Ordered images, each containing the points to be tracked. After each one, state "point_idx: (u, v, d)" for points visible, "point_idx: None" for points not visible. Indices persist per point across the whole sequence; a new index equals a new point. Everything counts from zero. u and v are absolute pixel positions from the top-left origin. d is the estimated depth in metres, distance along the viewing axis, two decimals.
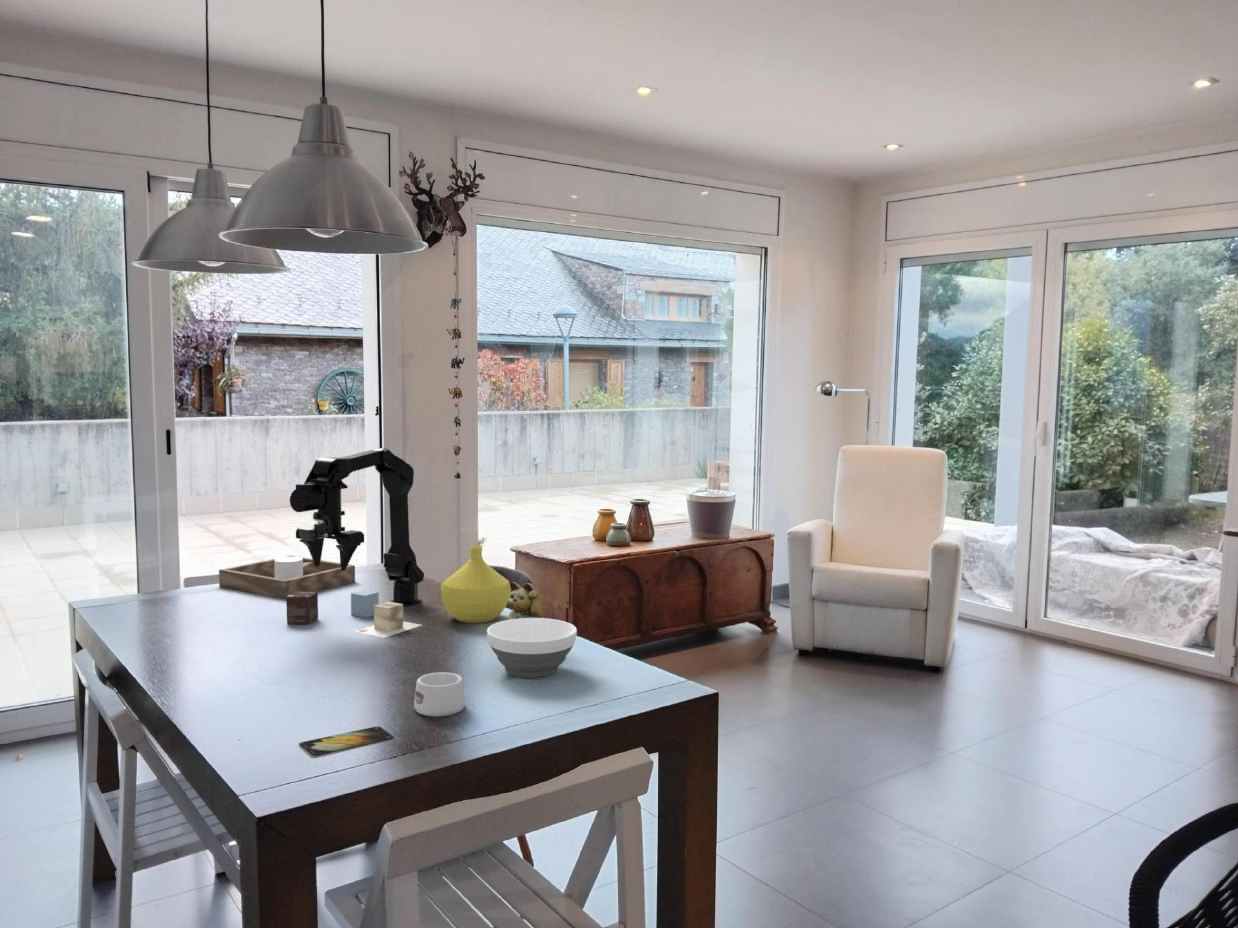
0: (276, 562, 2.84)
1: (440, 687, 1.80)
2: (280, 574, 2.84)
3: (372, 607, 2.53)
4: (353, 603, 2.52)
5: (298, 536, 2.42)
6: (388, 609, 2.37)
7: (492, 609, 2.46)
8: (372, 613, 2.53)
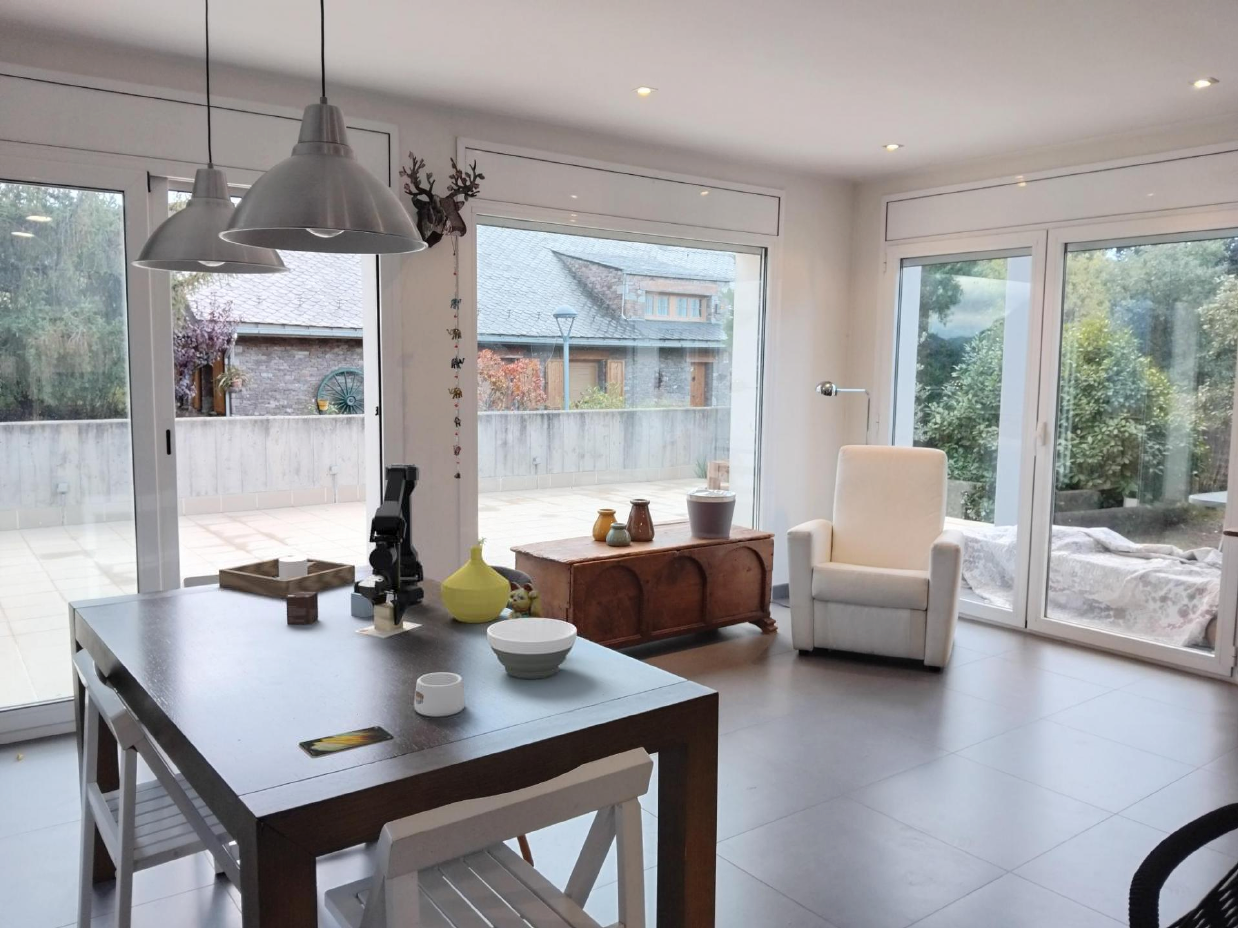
0: (281, 562, 2.85)
1: (440, 687, 1.80)
2: (285, 574, 2.84)
3: (372, 607, 2.53)
4: (353, 603, 2.52)
5: (356, 591, 2.41)
6: (388, 609, 2.37)
7: (492, 609, 2.46)
8: (372, 613, 2.53)
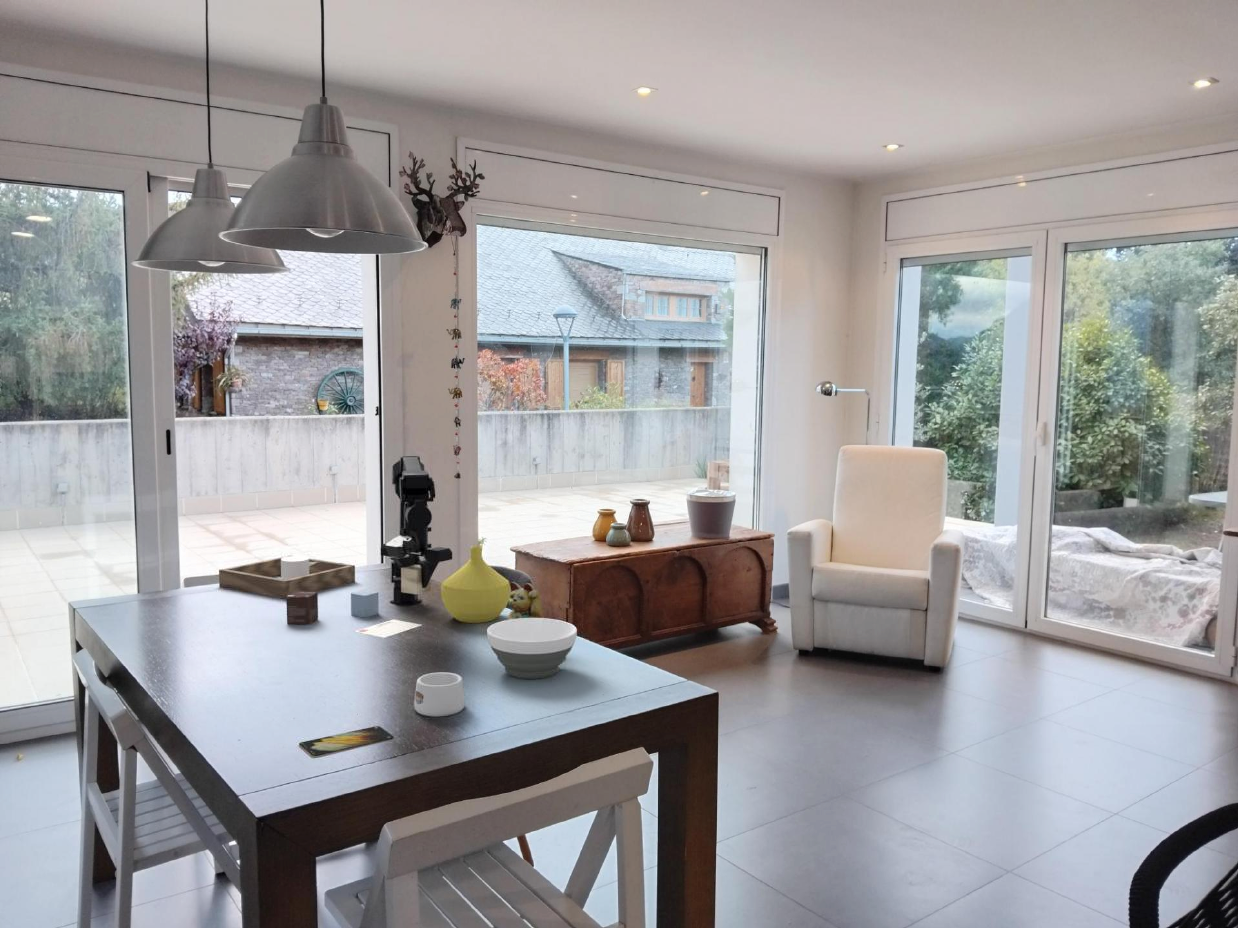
0: (283, 561, 2.85)
1: (440, 687, 1.80)
2: (287, 573, 2.85)
3: (372, 607, 2.53)
4: (353, 603, 2.52)
5: (383, 553, 2.35)
6: (415, 571, 2.31)
7: (492, 609, 2.46)
8: (372, 613, 2.53)
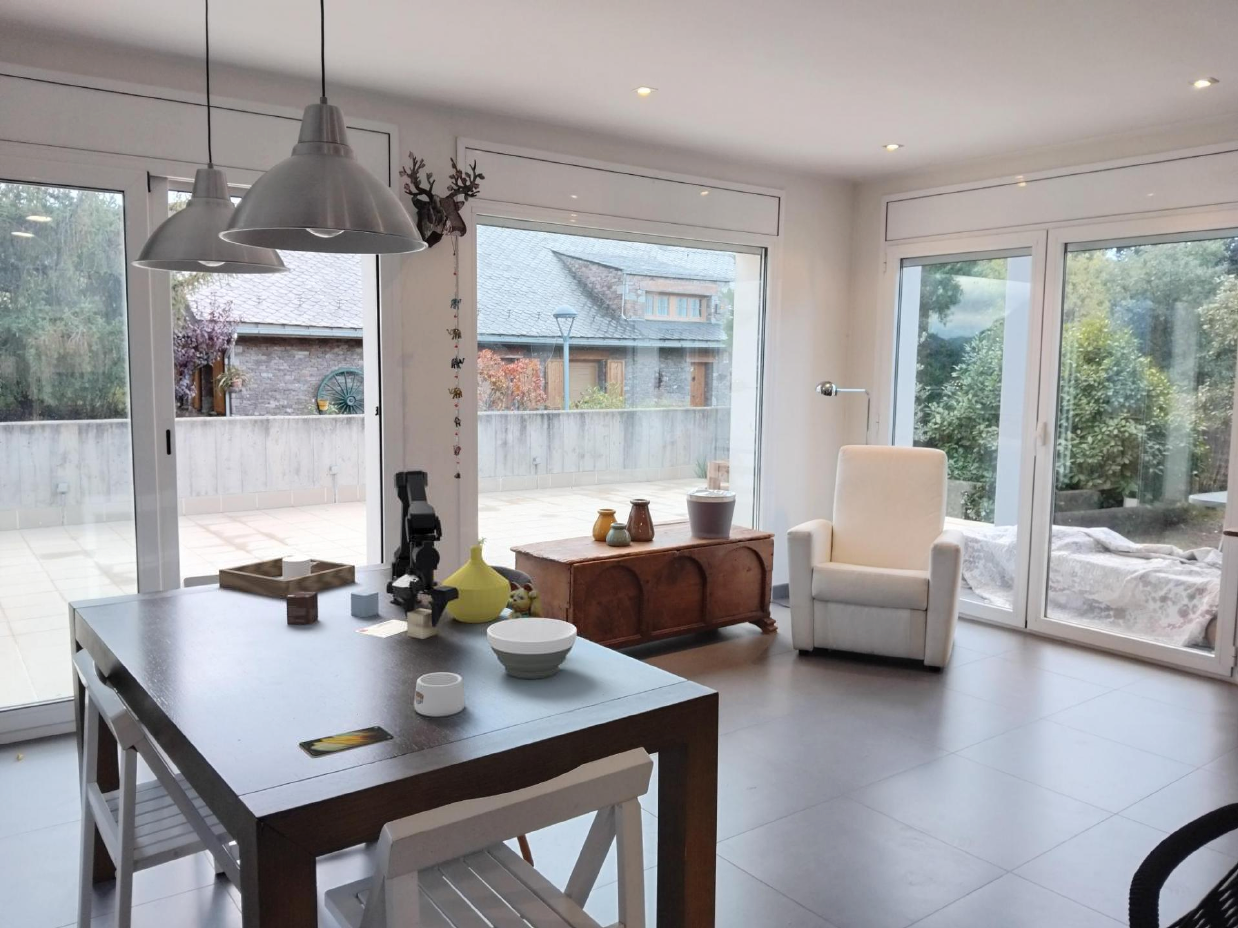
0: (284, 561, 2.85)
1: (440, 687, 1.80)
2: (288, 573, 2.85)
3: (372, 607, 2.53)
4: (353, 603, 2.52)
5: (389, 591, 2.35)
6: (422, 616, 2.32)
7: (492, 609, 2.46)
8: (372, 613, 2.53)
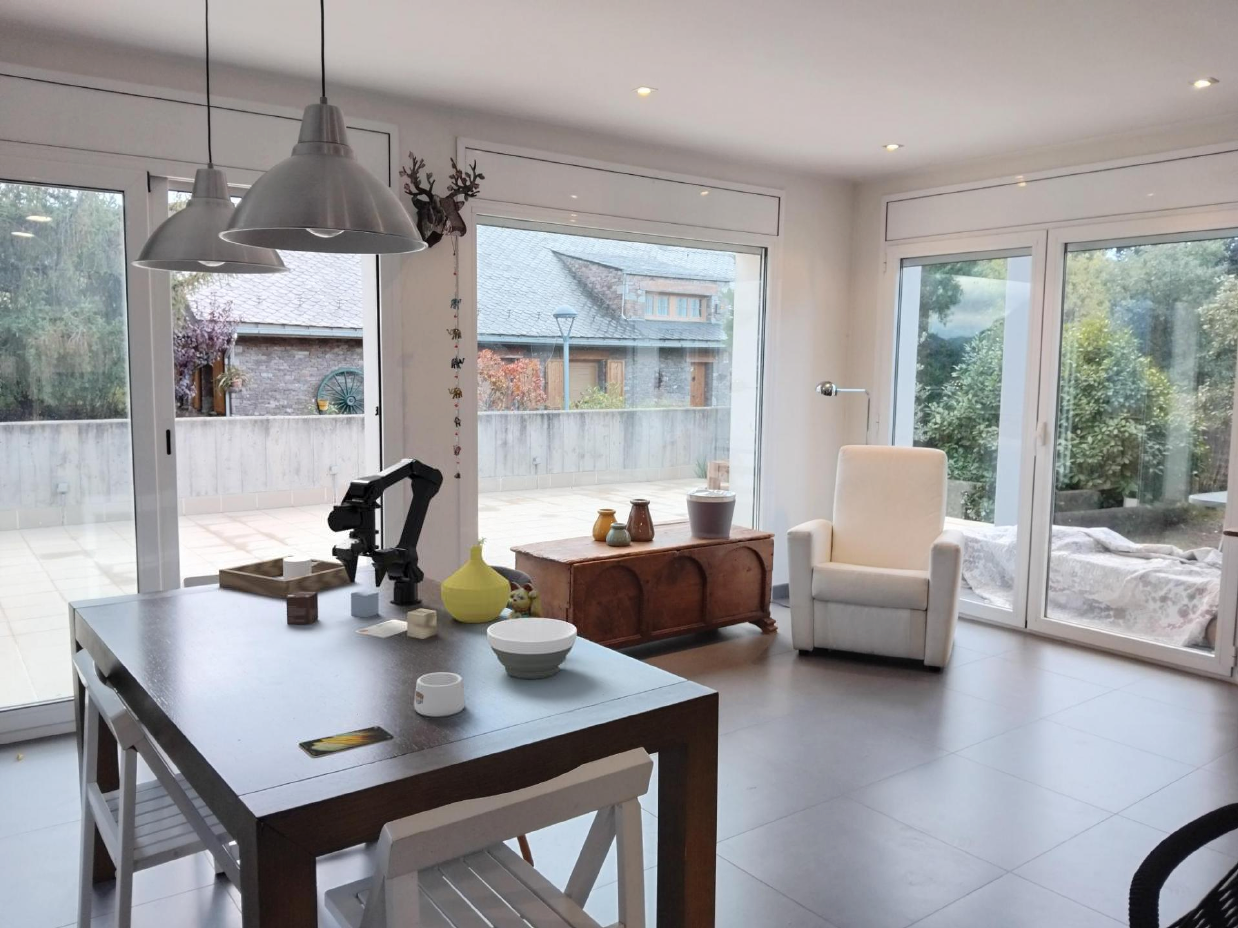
0: (285, 561, 2.85)
1: (440, 687, 1.80)
2: (289, 574, 2.85)
3: (372, 607, 2.53)
4: (353, 603, 2.52)
5: (334, 554, 2.54)
6: (422, 616, 2.32)
7: (492, 609, 2.46)
8: (372, 613, 2.53)
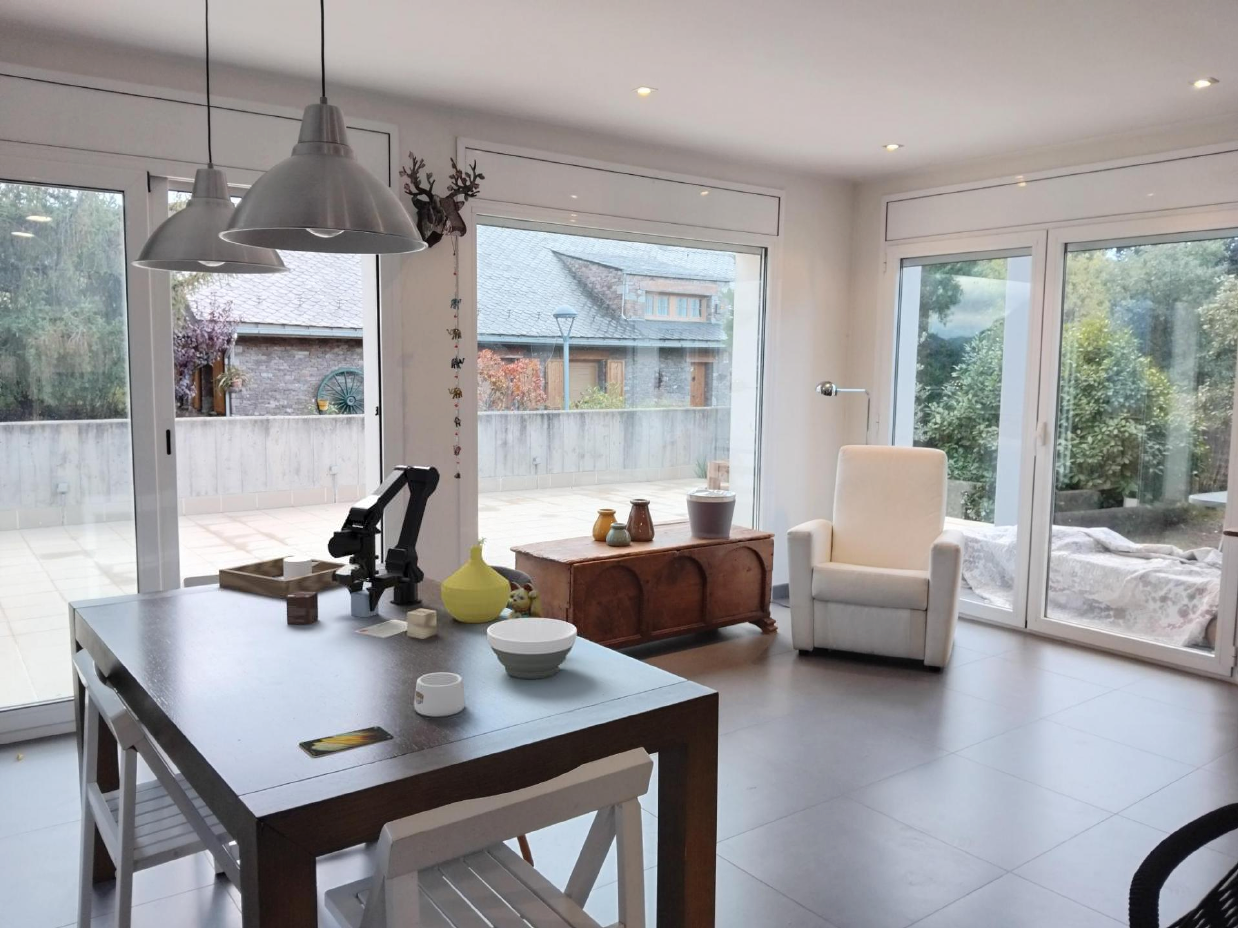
0: (285, 562, 2.85)
1: (440, 687, 1.80)
2: (289, 574, 2.84)
3: None
4: (353, 603, 2.52)
5: (334, 579, 2.54)
6: (422, 616, 2.32)
7: (492, 609, 2.46)
8: (372, 613, 2.53)
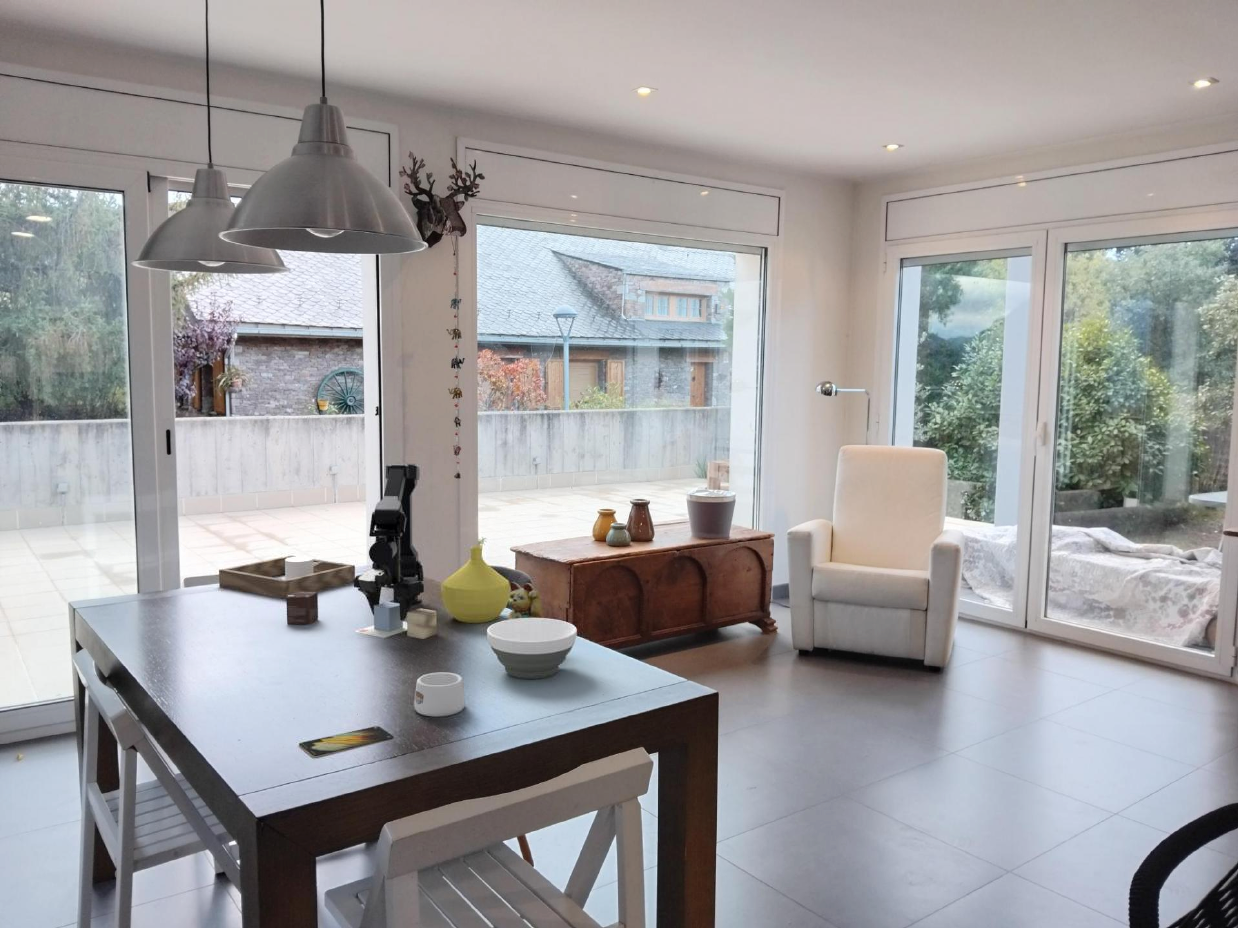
0: (287, 562, 2.85)
1: (440, 687, 1.80)
2: (291, 574, 2.84)
3: (396, 620, 2.39)
4: (376, 616, 2.39)
5: (356, 585, 2.41)
6: (422, 616, 2.32)
7: (492, 609, 2.46)
8: (396, 626, 2.40)
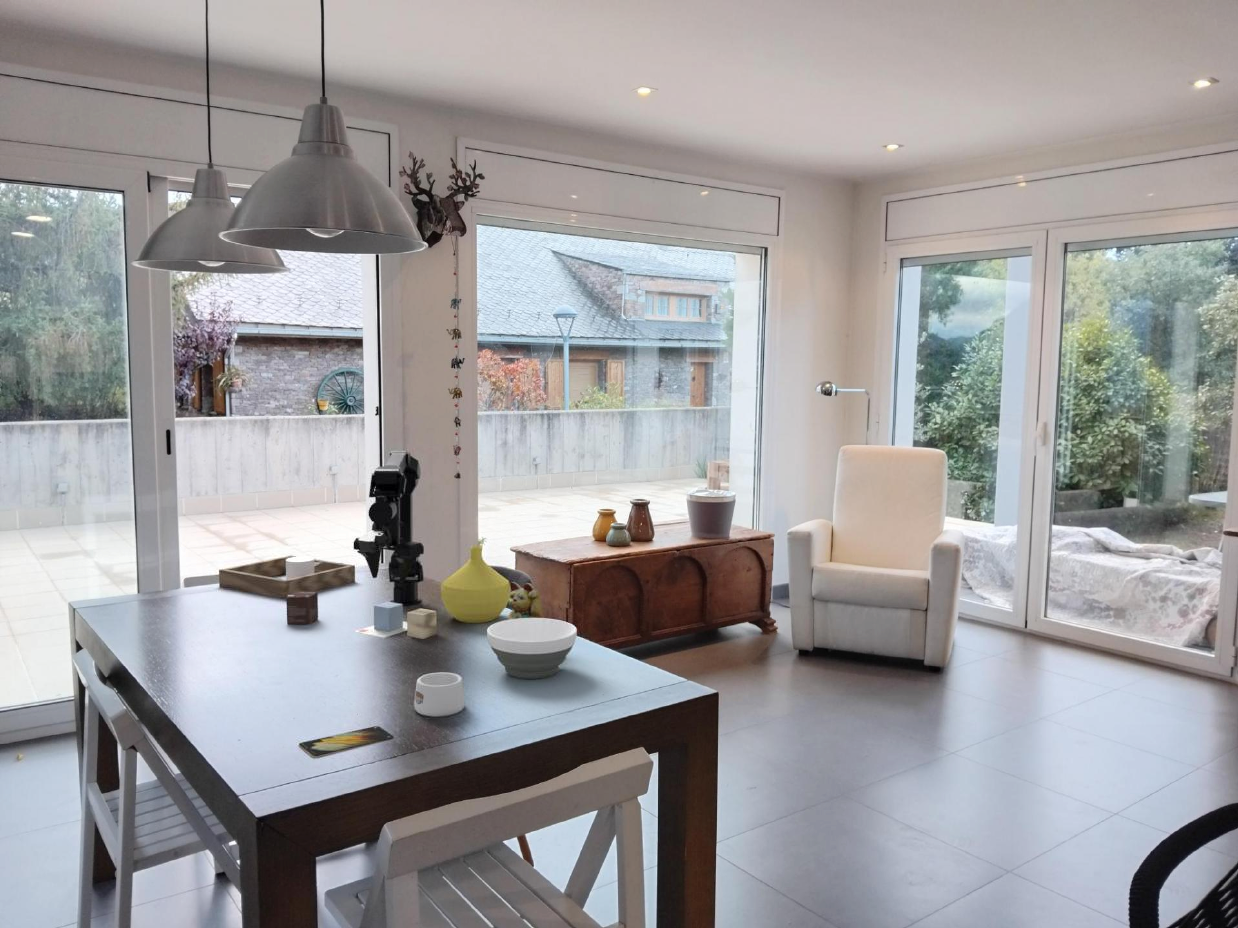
0: (288, 562, 2.84)
1: (440, 687, 1.80)
2: (292, 574, 2.84)
3: (396, 620, 2.39)
4: (376, 616, 2.39)
5: (356, 547, 2.40)
6: (422, 616, 2.32)
7: (492, 609, 2.46)
8: (396, 626, 2.40)
